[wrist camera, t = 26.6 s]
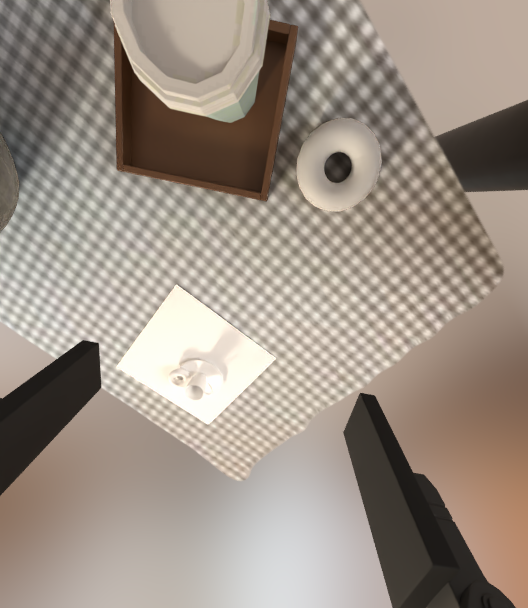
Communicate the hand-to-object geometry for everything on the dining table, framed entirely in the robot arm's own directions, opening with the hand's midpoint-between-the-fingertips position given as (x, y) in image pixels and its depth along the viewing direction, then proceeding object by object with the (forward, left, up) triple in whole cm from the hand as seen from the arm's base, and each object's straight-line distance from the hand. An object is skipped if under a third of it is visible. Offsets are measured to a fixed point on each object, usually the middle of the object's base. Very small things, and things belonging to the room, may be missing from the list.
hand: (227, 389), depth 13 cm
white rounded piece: (+8, +19, -27) cm, 34 cm away
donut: (-7, -14, -27) cm, 31 cm away
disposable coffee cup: (+7, -19, -26) cm, 33 cm away
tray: (+10, -17, -27) cm, 33 cm away
